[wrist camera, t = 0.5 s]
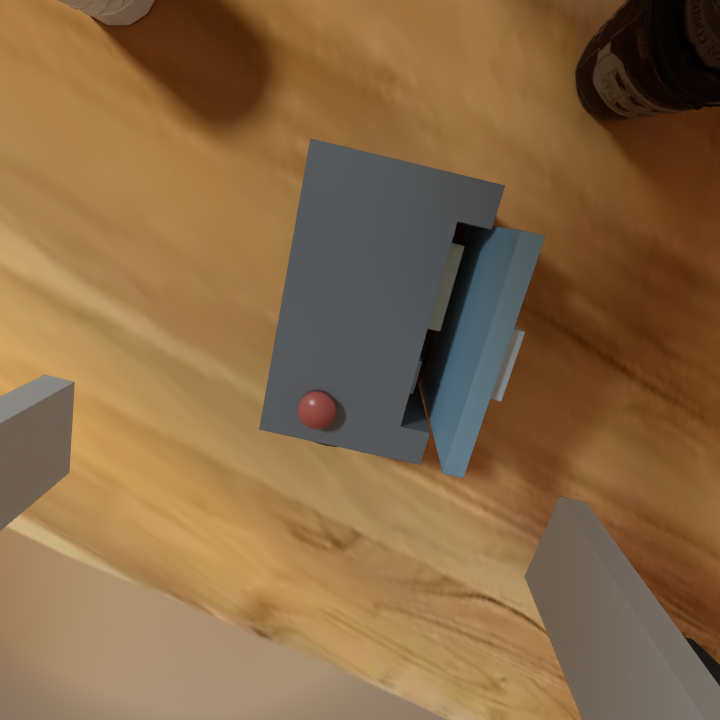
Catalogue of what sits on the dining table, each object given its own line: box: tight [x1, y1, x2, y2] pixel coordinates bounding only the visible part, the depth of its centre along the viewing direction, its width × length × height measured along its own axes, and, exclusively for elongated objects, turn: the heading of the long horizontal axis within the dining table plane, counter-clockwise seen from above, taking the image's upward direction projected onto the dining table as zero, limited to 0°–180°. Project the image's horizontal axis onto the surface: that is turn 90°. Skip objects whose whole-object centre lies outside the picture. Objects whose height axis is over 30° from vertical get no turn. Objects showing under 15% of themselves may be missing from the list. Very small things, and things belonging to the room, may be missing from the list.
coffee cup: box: [575, 0, 720, 120], centre depth 27 cm, size 9×8×13 cm
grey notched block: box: [259, 139, 505, 465], centre depth 33 cm, size 19×11×11 cm, turn 167°
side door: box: [420, 225, 545, 478], centre depth 31 cm, size 14×2×14 cm, turn 167°
